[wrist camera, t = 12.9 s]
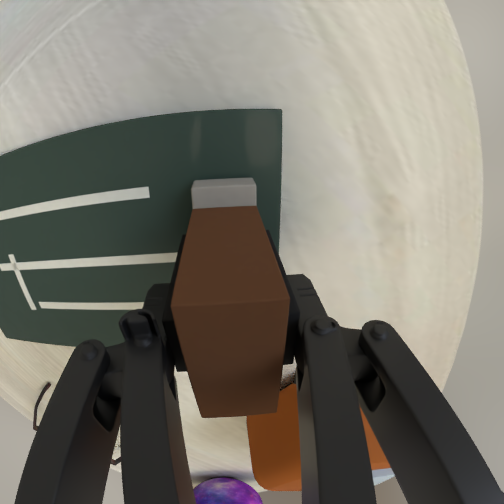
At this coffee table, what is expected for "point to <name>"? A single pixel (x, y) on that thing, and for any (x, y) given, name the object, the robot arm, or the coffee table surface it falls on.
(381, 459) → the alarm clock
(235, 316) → the eraser
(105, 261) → the chalkboard
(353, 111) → the coffee table surface
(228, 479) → the decorative orb
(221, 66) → the coffee table surface
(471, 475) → the robot arm
